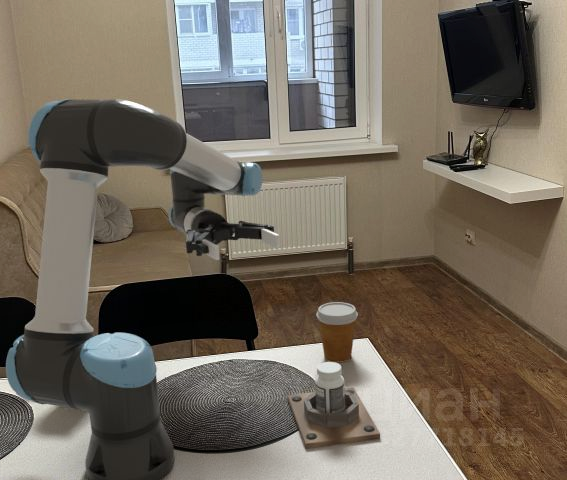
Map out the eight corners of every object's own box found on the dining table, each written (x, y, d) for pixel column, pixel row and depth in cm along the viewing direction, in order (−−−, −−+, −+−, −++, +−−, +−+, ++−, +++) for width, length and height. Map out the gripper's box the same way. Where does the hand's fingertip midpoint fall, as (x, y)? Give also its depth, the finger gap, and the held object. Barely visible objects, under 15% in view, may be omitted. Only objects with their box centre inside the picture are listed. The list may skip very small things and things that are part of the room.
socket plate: (305, 448, 118) (305, 431, 117) (287, 399, 135) (287, 384, 134) (380, 438, 120) (380, 421, 119) (353, 391, 137) (353, 376, 136)
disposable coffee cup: (363, 362, 150) (363, 313, 147) (323, 368, 148) (322, 318, 145) (350, 345, 159) (350, 299, 156) (313, 350, 157) (311, 304, 154)
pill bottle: (345, 405, 130) (344, 360, 127) (345, 421, 124) (344, 374, 121) (316, 405, 130) (315, 360, 127) (315, 421, 125) (314, 374, 122)
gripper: (255, 233, 155) (302, 254, 137) (155, 251, 143) (191, 277, 125) (254, 202, 153) (301, 219, 135) (151, 218, 141) (188, 239, 123)
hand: (248, 247), depth 130 cm, fingers open, 13 cm apart
